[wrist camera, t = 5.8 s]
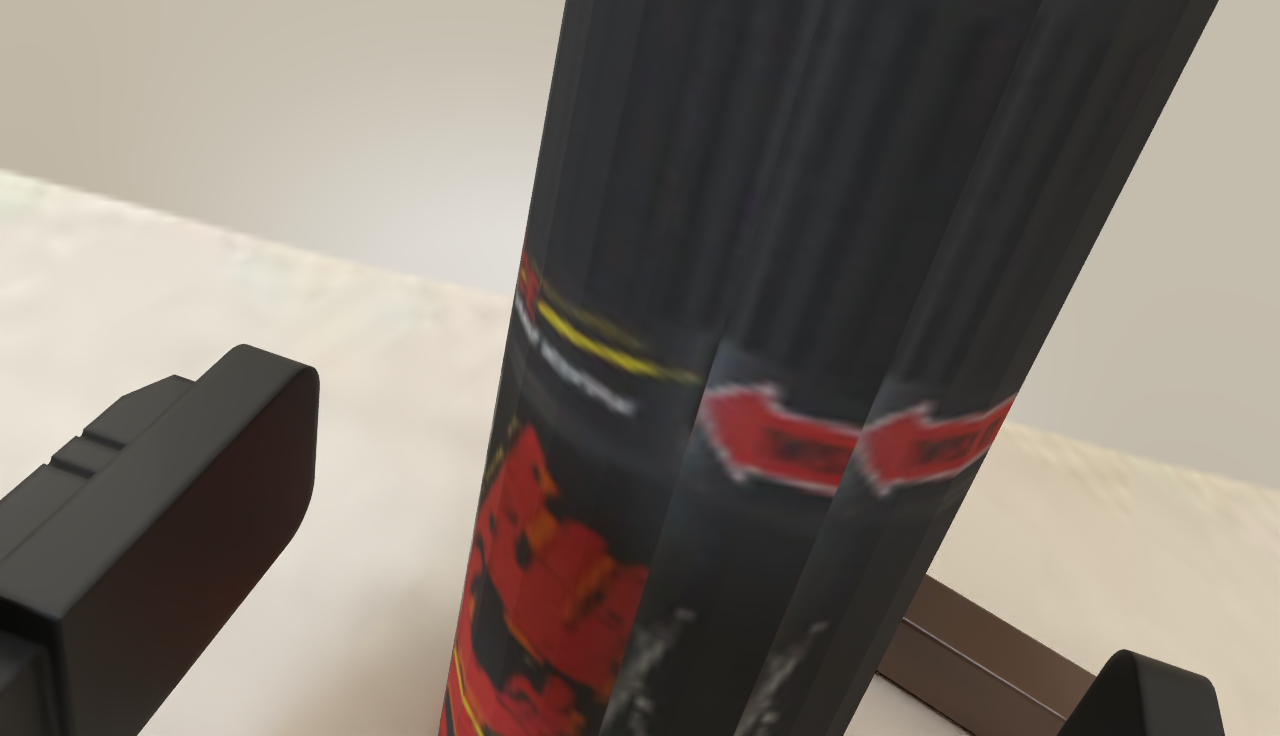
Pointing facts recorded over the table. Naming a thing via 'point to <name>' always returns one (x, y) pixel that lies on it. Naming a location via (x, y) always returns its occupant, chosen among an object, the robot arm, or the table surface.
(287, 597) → the table surface
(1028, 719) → the brown angled rods
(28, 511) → the robot arm
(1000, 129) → the deodorant
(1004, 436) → the table surface
